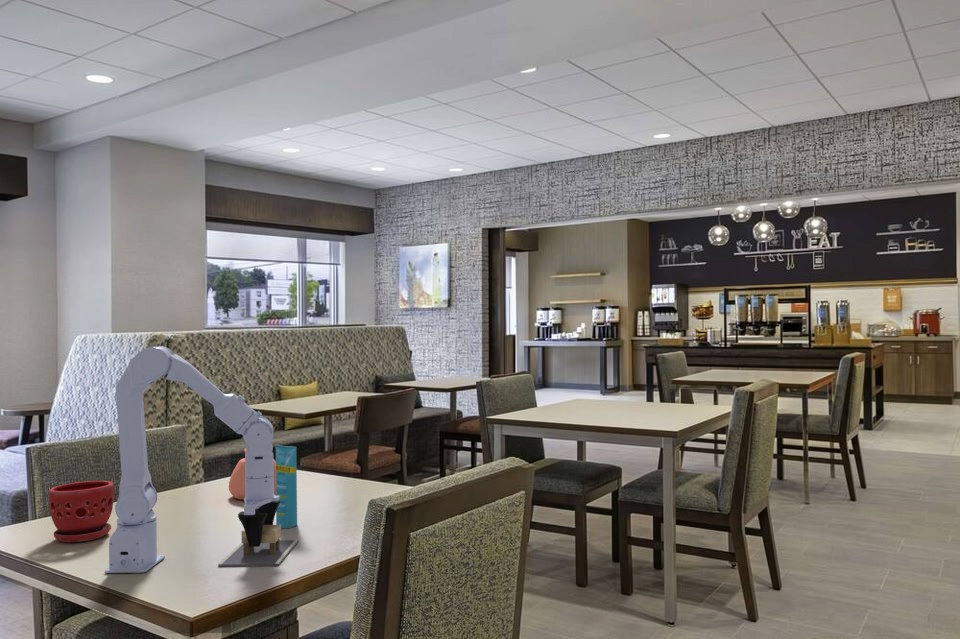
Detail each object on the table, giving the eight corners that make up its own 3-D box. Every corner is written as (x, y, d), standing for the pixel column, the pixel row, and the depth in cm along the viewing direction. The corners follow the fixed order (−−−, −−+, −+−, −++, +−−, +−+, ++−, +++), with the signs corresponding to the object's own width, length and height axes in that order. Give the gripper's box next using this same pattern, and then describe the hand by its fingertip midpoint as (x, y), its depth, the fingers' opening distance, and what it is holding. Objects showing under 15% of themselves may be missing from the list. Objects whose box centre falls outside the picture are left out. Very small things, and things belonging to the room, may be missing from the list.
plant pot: (127, 531, 172) (126, 480, 172) (82, 547, 160) (82, 492, 160) (81, 527, 176) (81, 477, 176) (35, 543, 163) (34, 489, 163)
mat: (278, 565, 146) (278, 563, 146) (218, 566, 146) (218, 564, 146) (298, 541, 162) (298, 539, 162) (244, 542, 162) (244, 540, 162)
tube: (268, 526, 175) (267, 445, 175) (283, 521, 179) (282, 442, 179) (291, 530, 171) (290, 448, 171) (305, 525, 175) (305, 445, 175)
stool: (241, 555, 152) (241, 531, 152) (248, 548, 156) (248, 525, 156) (275, 554, 152) (275, 530, 152) (281, 548, 156) (281, 524, 156)
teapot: (220, 491, 212) (220, 449, 212) (272, 485, 220) (272, 444, 220) (237, 507, 193) (237, 460, 194) (294, 499, 201) (293, 455, 201)
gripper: (268, 483, 147) (269, 551, 147) (287, 468, 161) (288, 530, 161) (233, 483, 147) (234, 551, 147) (255, 469, 161) (256, 531, 161)
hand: (260, 540), depth 154 cm, fingers open, 7 cm apart
